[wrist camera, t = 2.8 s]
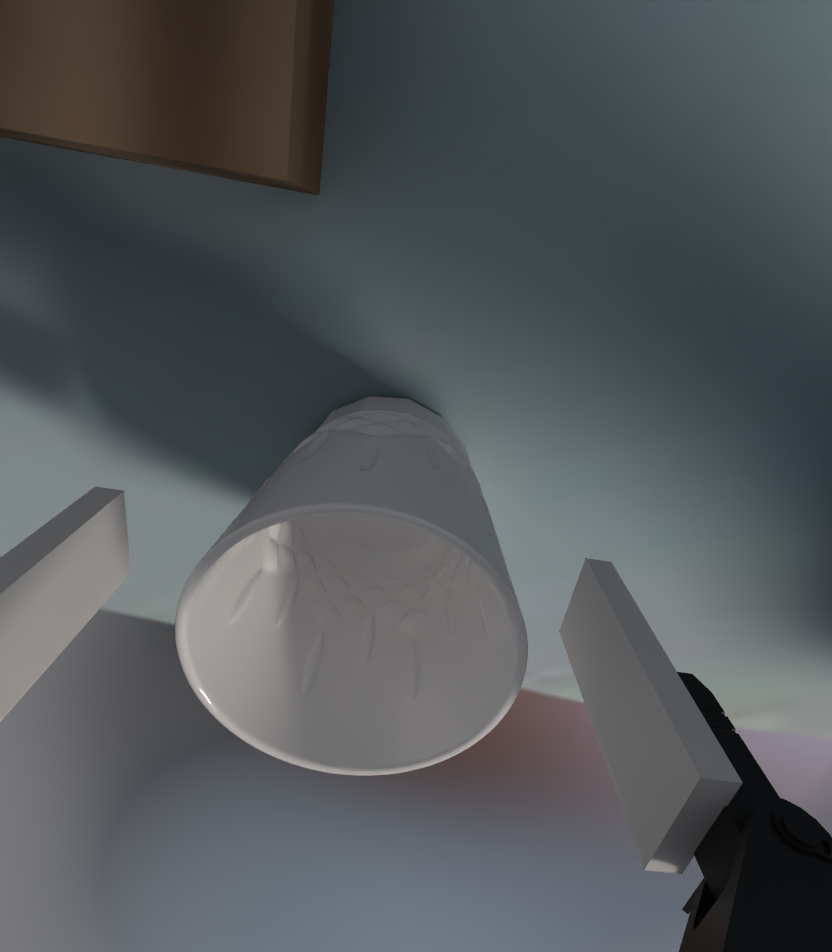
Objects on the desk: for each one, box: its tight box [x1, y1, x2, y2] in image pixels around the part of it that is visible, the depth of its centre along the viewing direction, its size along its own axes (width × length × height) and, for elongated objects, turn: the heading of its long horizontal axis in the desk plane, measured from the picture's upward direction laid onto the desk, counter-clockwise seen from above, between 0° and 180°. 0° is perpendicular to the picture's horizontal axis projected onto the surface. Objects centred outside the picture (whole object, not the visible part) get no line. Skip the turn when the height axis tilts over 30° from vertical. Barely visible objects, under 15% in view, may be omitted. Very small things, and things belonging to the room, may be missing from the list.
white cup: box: [175, 396, 528, 776], centre depth 16 cm, size 8×8×10 cm
